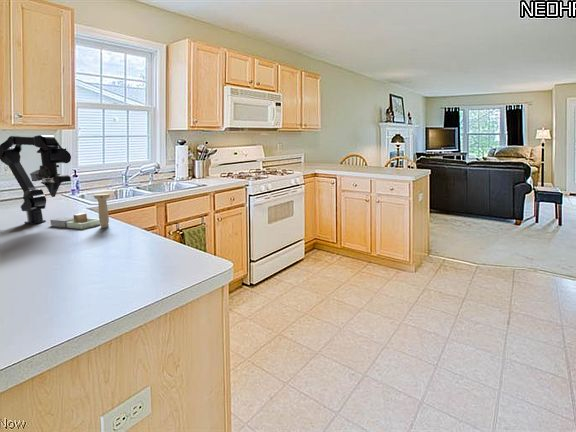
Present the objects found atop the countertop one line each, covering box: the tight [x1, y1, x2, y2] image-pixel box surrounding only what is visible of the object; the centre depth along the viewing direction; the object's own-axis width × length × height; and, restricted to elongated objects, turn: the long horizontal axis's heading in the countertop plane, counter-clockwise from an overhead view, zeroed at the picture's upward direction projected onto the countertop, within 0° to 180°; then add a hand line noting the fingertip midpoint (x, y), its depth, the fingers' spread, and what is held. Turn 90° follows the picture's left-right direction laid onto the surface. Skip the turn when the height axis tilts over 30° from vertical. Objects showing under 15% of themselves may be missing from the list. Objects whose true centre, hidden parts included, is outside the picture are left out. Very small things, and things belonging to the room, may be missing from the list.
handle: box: [93, 193, 111, 229], centre depth 177 cm, size 5×6×15 cm
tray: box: [66, 217, 101, 230], centre depth 181 cm, size 10×10×2 cm
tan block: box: [72, 212, 88, 223], centre depth 181 cm, size 5×5×2 cm
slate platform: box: [50, 216, 74, 228], centre depth 183 cm, size 9×7×3 cm
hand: (53, 196), depth 183 cm, fingers closed
